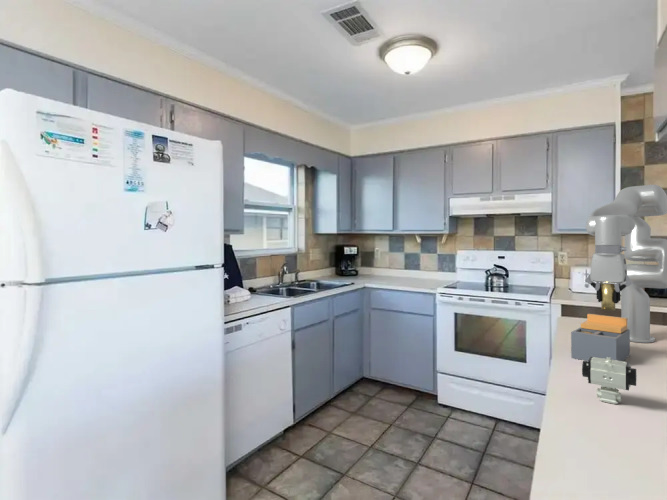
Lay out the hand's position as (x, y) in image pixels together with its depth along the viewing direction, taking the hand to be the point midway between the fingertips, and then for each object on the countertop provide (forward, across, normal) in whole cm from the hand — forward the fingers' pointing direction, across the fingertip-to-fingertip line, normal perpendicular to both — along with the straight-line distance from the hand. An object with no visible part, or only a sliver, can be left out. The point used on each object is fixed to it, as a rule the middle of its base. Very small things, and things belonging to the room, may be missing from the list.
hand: (608, 301), depth 136 cm
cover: (+11, +3, -8) cm, 14 cm away
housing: (+21, +3, -4) cm, 22 cm away
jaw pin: (+3, 0, 0) cm, 3 cm away
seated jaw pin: (+21, +7, 0) cm, 22 cm away
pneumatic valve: (+22, -10, +38) cm, 45 cm away
